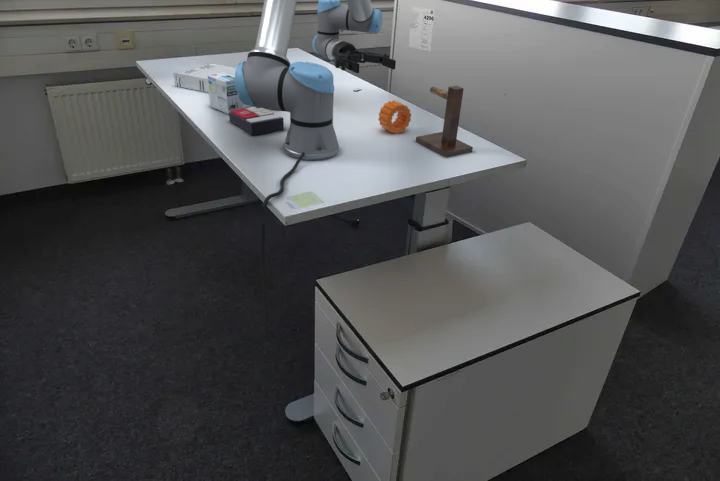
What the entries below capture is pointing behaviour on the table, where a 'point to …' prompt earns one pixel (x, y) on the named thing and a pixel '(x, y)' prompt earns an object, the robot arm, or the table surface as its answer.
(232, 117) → the red and black box
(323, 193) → the table surface
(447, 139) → the stand
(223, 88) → the light bulb box
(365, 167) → the table surface
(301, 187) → the table surface
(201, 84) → the white cardboard box
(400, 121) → the tape roll
